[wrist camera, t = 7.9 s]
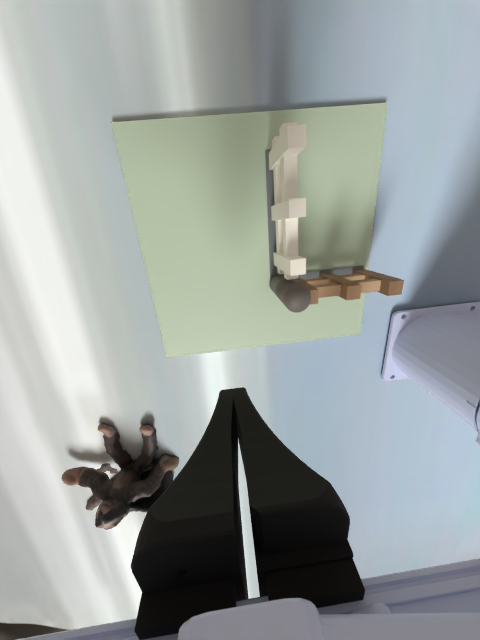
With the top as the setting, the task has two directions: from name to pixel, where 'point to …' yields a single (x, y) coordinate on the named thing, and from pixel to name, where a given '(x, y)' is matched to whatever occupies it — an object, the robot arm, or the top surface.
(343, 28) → the top surface
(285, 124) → the folding fence panel
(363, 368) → the top surface
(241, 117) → the card
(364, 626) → the robot arm
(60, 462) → the top surface
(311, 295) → the fixed fence panel
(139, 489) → the stuffed animal
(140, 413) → the top surface
